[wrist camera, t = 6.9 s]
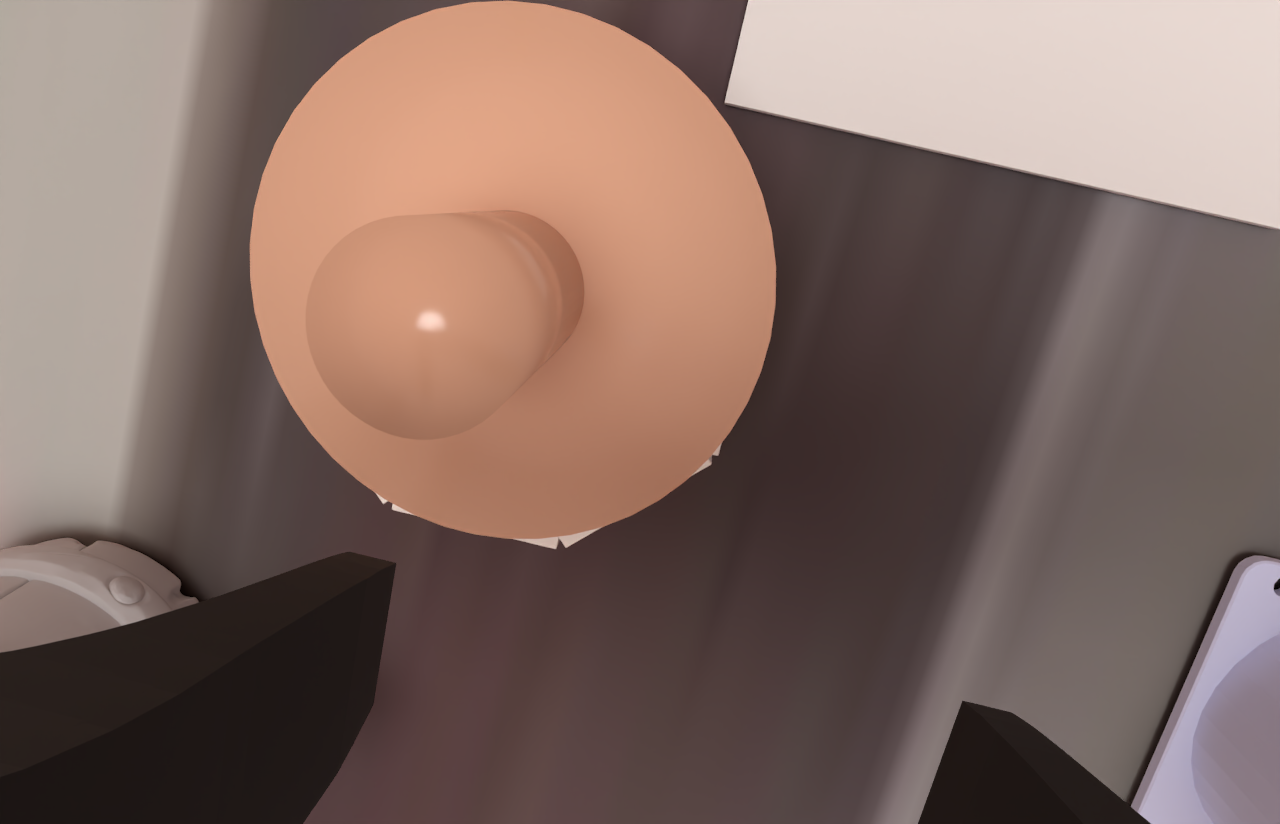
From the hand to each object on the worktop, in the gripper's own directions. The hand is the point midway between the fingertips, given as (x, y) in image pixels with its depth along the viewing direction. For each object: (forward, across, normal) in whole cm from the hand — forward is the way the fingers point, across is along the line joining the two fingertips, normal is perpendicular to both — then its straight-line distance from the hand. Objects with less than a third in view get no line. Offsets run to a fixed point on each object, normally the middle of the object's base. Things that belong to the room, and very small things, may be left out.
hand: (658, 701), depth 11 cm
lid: (+7, +4, -4) cm, 9 cm away
